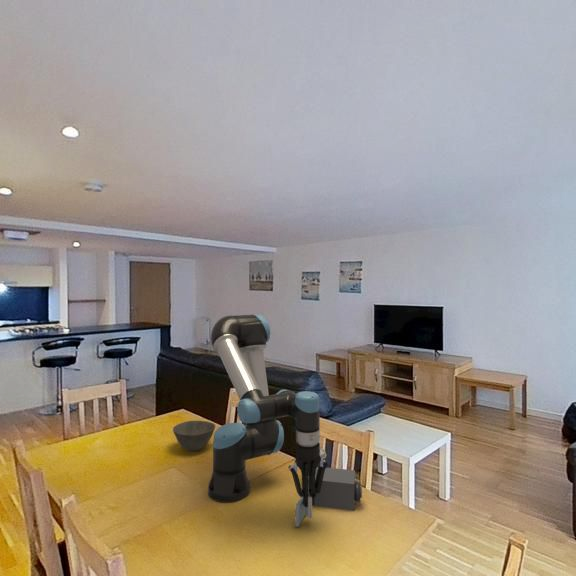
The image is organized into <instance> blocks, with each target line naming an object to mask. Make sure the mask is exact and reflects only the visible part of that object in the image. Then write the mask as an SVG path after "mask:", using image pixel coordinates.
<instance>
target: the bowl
mask: <svg viewBox="0 0 576 576" xmlns="http://www.w3.org/2000/svg"><path fill="white" fill-rule="evenodd" d="M215 429H216V425H215V423H214V422H210V421H204V420H188V421H183V422H180V423H178V424H176V425H174V426H173V428H172V432H173V434H174V436H175V438H176V440H177V442H178V443H179V445H180V446H181V447H182V448H183V449H185V450H187V451H189V452H196V451H197V452H198V451H200V450H201V449H203V448H204V447H206V446H207V444H208V443H209V442H210V440H211V439H212V437H213V435H214V433H215Z"/></svg>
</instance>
